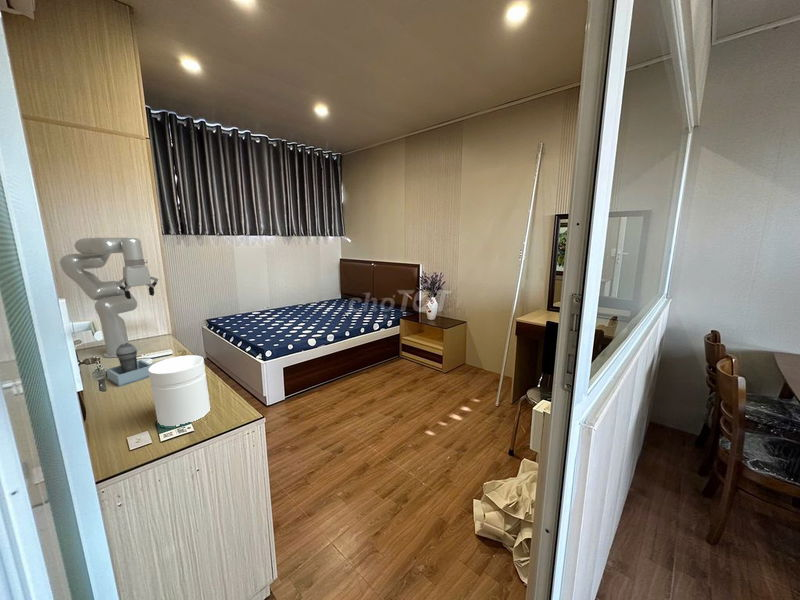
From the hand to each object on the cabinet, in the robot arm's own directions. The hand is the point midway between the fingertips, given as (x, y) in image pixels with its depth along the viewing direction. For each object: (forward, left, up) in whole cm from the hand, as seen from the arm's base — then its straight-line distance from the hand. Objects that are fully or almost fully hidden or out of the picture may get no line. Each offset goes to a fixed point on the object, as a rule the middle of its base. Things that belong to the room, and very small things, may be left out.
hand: (140, 297), depth 161 cm
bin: (+19, -15, -33) cm, 41 cm away
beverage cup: (+19, -15, -33) cm, 41 cm away
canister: (+74, -18, -34) cm, 83 cm away
